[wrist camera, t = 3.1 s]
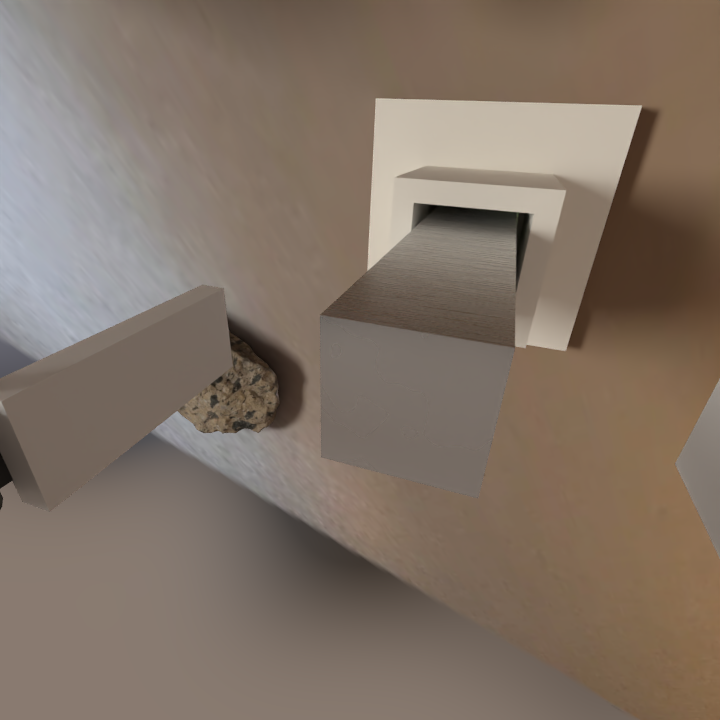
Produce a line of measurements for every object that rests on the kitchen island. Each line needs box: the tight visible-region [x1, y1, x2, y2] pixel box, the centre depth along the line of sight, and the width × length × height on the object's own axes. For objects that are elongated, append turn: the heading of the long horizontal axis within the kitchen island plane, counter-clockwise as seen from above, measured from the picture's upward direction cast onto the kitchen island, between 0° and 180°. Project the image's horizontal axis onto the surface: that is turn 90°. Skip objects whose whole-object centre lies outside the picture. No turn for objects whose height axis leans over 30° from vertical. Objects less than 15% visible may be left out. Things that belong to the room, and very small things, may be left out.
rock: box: [177, 331, 280, 433], centre depth 38 cm, size 11×12×4 cm
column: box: [320, 205, 519, 498], centre depth 18 cm, size 4×4×20 cm
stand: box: [368, 98, 642, 351], centre depth 24 cm, size 14×14×9 cm
